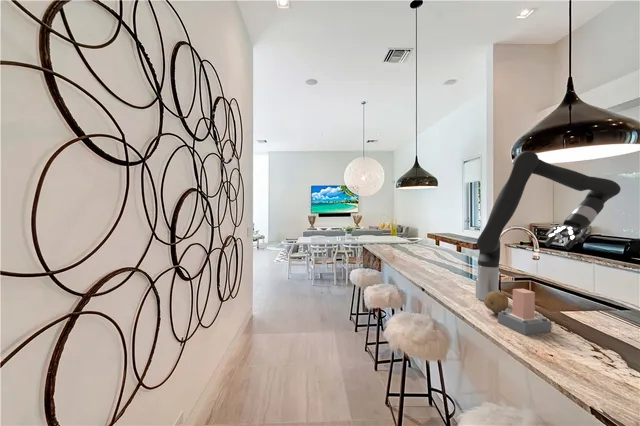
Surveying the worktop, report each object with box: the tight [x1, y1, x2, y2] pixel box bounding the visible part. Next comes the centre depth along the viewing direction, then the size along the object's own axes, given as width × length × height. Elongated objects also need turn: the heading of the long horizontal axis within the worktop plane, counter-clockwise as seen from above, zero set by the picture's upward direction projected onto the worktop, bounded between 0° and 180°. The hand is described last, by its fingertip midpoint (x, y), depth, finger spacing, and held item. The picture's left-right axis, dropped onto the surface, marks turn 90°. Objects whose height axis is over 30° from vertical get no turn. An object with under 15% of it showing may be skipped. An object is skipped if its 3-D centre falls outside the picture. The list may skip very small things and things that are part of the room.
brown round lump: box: [483, 290, 510, 315], centre depth 126 cm, size 9×9×10 cm
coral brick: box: [511, 288, 536, 319], centre depth 112 cm, size 5×5×10 cm
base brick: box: [497, 310, 552, 336], centre depth 112 cm, size 12×12×5 cm
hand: (556, 246), depth 119 cm, fingers open, 8 cm apart
